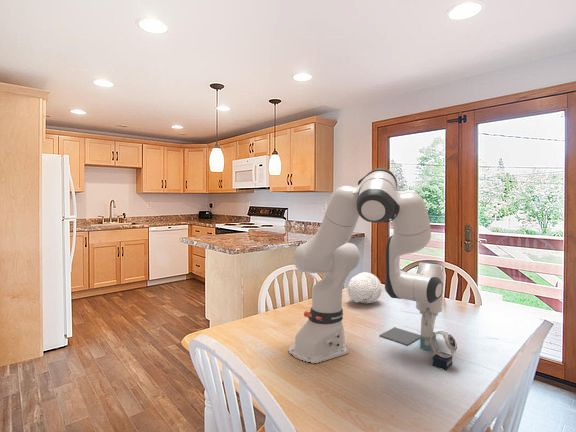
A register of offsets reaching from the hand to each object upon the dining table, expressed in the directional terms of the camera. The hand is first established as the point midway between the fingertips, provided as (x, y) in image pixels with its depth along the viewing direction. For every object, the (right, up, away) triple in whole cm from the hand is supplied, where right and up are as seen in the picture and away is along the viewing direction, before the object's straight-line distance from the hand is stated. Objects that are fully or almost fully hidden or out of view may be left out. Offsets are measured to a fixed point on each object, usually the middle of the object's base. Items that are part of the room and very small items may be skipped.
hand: (428, 341), depth 125 cm
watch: (-1, -3, -14) cm, 14 cm away
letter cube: (0, -2, 0) cm, 2 cm away
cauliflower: (-12, 0, +50) cm, 51 cm away
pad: (-7, -2, +9) cm, 12 cm away
